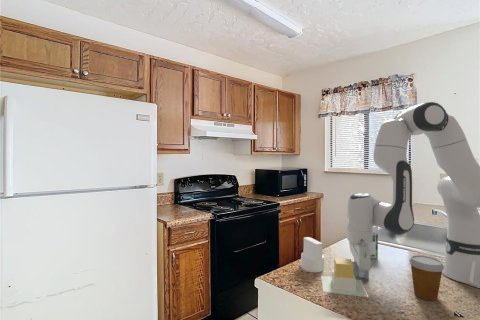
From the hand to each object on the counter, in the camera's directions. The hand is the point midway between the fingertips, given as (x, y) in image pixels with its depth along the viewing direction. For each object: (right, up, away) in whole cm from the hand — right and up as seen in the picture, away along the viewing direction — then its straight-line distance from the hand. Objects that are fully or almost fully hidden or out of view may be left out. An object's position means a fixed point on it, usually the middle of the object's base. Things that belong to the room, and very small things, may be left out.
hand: (359, 272), depth 101 cm
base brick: (-10, -1, -9) cm, 13 cm away
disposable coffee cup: (+16, -2, -13) cm, 21 cm away
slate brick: (0, -2, 0) cm, 2 cm away
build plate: (-10, -2, -9) cm, 13 cm away
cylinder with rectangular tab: (-16, -2, +6) cm, 17 cm away
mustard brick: (-9, +3, -9) cm, 13 cm away
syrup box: (+15, -2, +22) cm, 27 cm away
